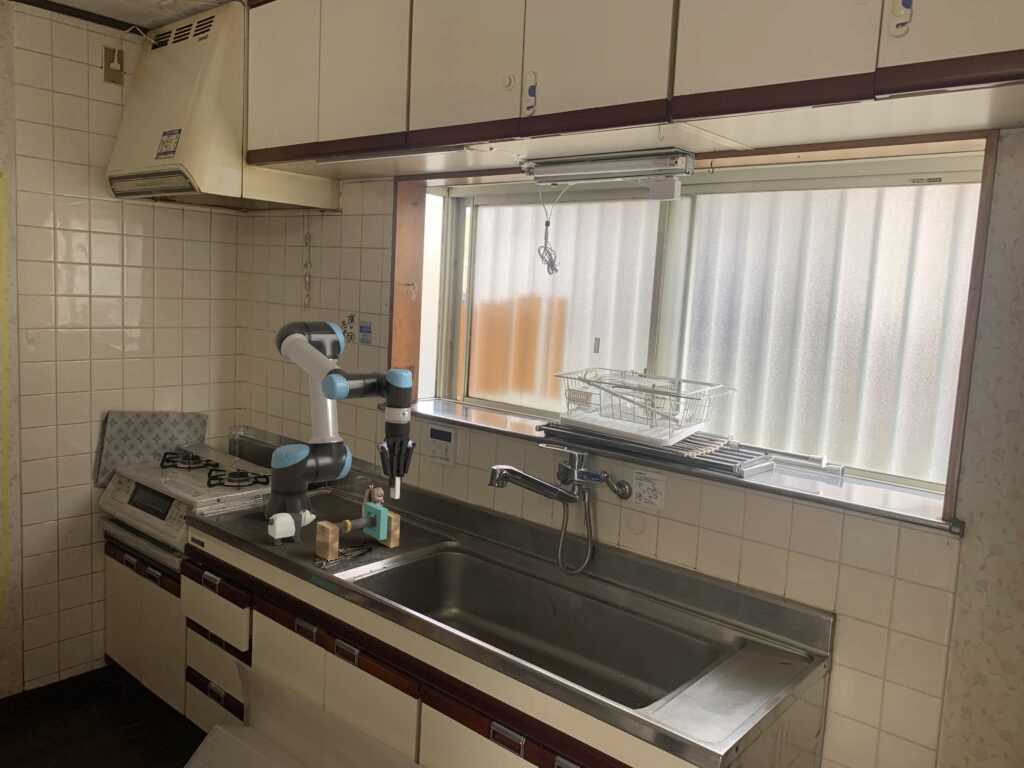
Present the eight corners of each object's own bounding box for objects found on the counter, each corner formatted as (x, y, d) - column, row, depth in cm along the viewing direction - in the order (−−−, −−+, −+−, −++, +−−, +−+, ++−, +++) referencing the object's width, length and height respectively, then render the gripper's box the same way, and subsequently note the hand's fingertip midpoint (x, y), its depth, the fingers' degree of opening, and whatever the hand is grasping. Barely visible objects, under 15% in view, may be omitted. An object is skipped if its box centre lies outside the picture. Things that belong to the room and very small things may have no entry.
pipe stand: (328, 561, 218) (329, 527, 217) (315, 554, 223) (316, 521, 222) (398, 545, 235) (400, 514, 233) (385, 539, 240) (387, 508, 238)
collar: (379, 540, 228) (381, 510, 227) (363, 532, 235) (364, 503, 233) (386, 538, 230) (387, 509, 229) (369, 530, 236) (370, 501, 235)
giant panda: (272, 547, 227) (273, 515, 226) (264, 541, 231) (265, 510, 230) (318, 539, 236) (319, 508, 235) (310, 534, 240) (311, 504, 239)
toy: (386, 530, 246) (375, 485, 245) (362, 535, 248) (350, 490, 247) (396, 522, 255) (385, 478, 254) (373, 527, 257) (361, 483, 256)
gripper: (386, 424, 225) (383, 503, 228) (422, 421, 234) (419, 497, 237) (372, 420, 231) (369, 497, 233) (408, 417, 240) (405, 492, 242)
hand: (394, 497), depth 235 cm, fingers closed
